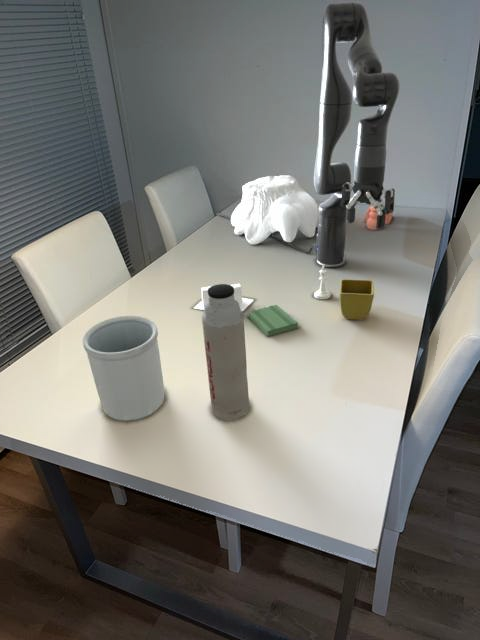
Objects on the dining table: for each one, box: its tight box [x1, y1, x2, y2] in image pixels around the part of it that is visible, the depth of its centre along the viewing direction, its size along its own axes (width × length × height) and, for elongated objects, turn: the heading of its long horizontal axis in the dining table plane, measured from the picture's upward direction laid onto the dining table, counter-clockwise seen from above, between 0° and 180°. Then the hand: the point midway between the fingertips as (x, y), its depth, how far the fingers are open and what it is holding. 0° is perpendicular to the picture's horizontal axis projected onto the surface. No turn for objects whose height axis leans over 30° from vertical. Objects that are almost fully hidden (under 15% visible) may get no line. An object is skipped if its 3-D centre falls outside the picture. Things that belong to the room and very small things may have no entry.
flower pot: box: [339, 278, 375, 321], centre depth 132 cm, size 9×9×9 cm
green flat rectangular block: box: [247, 304, 299, 337], centre depth 134 cm, size 12×9×2 cm
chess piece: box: [313, 265, 332, 300], centre depth 144 cm, size 5×5×10 cm
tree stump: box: [230, 174, 319, 245], centre depth 197 cm, size 40×37×23 cm
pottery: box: [365, 205, 394, 231], centre depth 199 cm, size 18×10×10 cm, turn 157°
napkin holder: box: [193, 283, 254, 312], centre depth 144 cm, size 15×11×6 cm
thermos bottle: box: [201, 283, 250, 421], centre depth 97 cm, size 8×8×28 cm
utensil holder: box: [82, 315, 165, 422], centre depth 103 cm, size 15×15×18 cm
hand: (365, 225), depth 129 cm, fingers open, 8 cm apart
